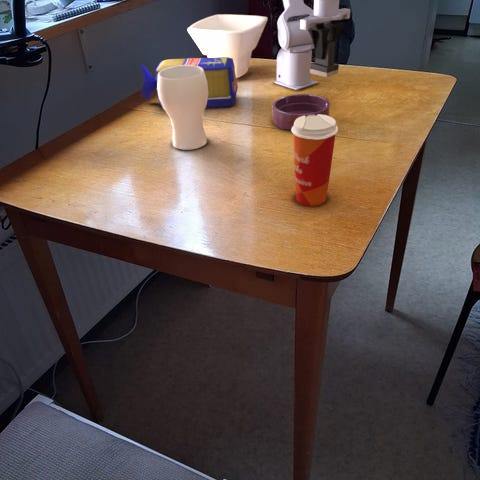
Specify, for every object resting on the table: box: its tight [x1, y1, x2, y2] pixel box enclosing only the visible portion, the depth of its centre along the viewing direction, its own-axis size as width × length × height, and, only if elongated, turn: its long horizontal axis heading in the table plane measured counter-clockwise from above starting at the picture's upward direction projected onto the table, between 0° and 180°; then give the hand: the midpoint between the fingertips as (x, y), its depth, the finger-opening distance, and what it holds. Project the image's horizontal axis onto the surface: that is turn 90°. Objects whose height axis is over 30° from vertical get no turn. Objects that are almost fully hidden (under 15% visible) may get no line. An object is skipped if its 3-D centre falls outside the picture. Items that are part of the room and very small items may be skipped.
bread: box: [139, 57, 239, 110], centre depth 125 cm, size 10×25×10 cm, turn 85°
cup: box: [156, 65, 208, 151], centre depth 104 cm, size 11×11×15 cm
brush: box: [310, 40, 340, 78], centre depth 118 cm, size 6×4×7 cm, turn 38°
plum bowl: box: [271, 93, 331, 132], centre depth 114 cm, size 13×13×4 cm
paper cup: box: [290, 114, 339, 207], centre depth 84 cm, size 8×8×14 cm
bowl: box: [187, 13, 269, 79], centre depth 138 cm, size 19×19×14 cm
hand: (323, 57), depth 118 cm, fingers closed on brush, 2 cm apart
